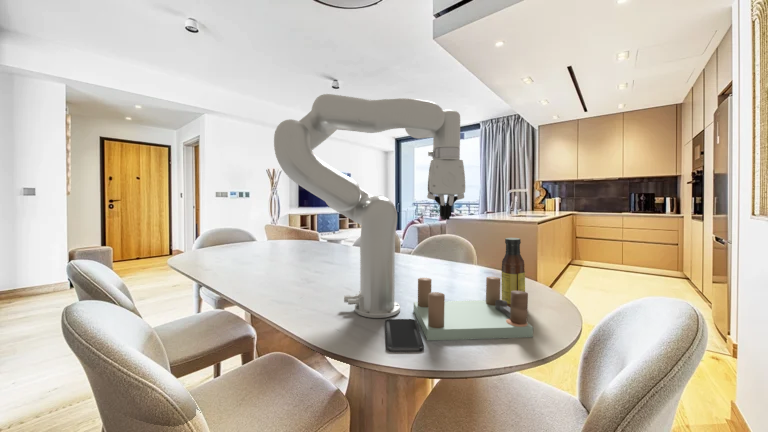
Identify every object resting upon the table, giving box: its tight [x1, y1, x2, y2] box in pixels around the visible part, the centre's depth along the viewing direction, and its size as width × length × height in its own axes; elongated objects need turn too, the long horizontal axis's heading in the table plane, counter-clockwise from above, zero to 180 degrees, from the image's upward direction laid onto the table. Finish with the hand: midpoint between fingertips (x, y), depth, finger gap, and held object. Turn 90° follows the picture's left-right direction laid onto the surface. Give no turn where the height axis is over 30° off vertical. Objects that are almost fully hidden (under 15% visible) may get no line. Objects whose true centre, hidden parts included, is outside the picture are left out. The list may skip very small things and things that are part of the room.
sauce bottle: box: [501, 237, 526, 308], centre depth 88 cm, size 7×6×20 cm
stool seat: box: [413, 276, 534, 341], centre depth 77 cm, size 24×18×9 cm
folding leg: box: [495, 291, 529, 324], centre depth 75 cm, size 11×4×7 cm, turn 8°
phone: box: [384, 318, 425, 353], centre depth 70 cm, size 8×1×15 cm
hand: (445, 219), depth 89 cm, fingers closed
